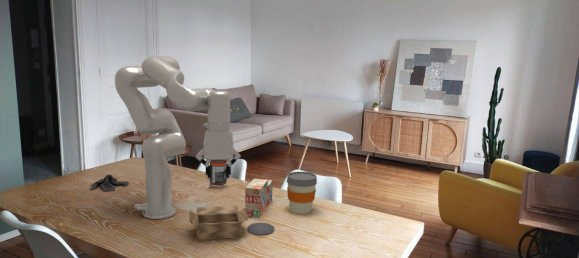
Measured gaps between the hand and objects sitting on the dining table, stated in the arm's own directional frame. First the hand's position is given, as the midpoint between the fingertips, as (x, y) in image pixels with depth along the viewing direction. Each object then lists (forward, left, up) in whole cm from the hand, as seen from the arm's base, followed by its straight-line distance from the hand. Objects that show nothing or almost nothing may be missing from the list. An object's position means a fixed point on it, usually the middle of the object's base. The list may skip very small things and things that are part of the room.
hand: (218, 176), depth 145 cm
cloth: (-49, +59, -22) cm, 80 cm away
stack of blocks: (+18, +22, -21) cm, 36 cm away
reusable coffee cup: (+35, +17, -21) cm, 44 cm away
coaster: (+16, 0, -21) cm, 26 cm away
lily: (+3, +50, -21) cm, 54 cm away
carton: (0, 0, -21) cm, 21 cm away
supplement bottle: (0, 0, -3) cm, 3 cm away
